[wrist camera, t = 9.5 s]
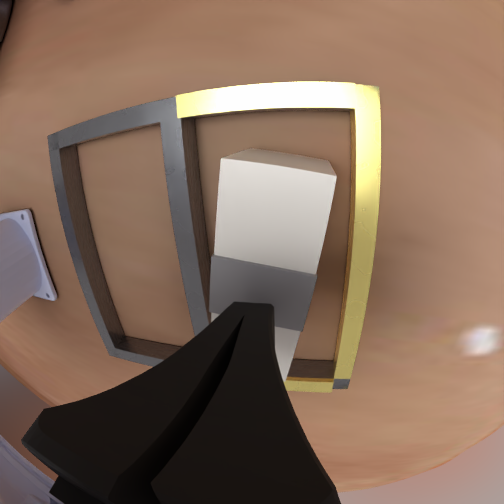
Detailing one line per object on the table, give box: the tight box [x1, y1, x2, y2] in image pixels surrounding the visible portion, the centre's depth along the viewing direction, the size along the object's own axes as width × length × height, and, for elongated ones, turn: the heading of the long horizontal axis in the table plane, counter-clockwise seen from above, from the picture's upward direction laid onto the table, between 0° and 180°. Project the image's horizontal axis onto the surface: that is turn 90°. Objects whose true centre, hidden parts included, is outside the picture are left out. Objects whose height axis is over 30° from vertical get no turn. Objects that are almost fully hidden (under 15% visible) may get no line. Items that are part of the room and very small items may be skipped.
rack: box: [48, 82, 381, 392], centre depth 14 cm, size 17×16×2 cm
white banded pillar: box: [209, 148, 337, 382], centre depth 12 cm, size 4×9×5 cm, turn 174°
